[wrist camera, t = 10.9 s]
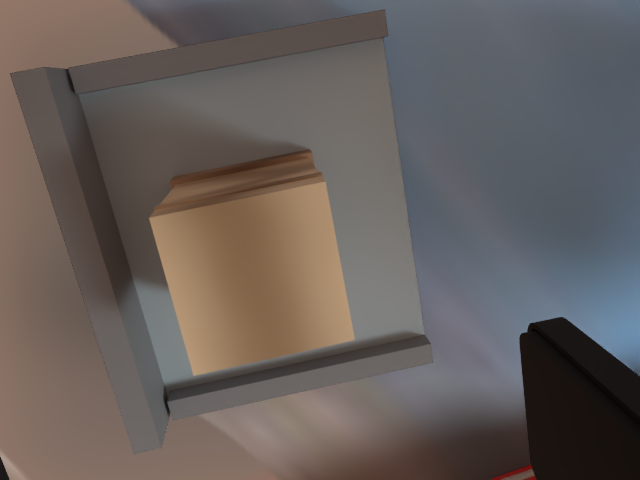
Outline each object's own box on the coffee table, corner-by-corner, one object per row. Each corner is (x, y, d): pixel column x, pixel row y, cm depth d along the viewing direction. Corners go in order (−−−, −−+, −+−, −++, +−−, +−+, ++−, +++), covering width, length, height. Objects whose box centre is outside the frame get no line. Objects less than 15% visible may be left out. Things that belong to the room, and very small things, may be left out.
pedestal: (309, 149, 24) (330, 173, 18) (333, 275, 26) (361, 343, 19) (173, 176, 24) (140, 213, 17) (207, 303, 26) (189, 382, 19)
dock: (367, 19, 26) (396, 2, 20) (413, 331, 30) (447, 383, 25) (62, 76, 25) (9, 73, 20) (155, 388, 29) (133, 453, 24)
